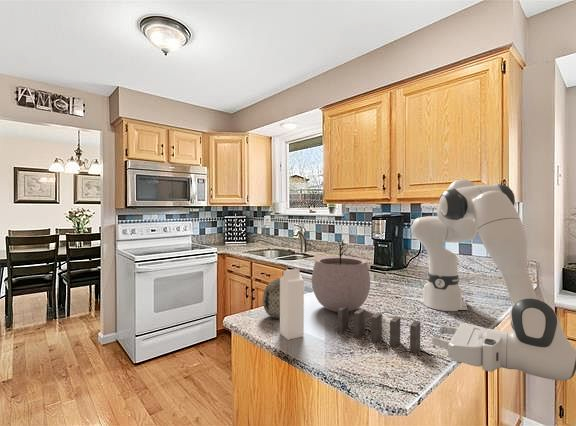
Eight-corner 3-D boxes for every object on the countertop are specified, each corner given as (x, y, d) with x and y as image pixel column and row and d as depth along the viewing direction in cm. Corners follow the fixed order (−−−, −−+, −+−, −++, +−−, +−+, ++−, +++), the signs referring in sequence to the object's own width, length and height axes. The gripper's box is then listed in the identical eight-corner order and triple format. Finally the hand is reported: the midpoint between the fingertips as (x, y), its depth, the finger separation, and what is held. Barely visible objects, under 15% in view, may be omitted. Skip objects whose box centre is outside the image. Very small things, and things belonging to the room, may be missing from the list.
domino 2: (360, 331, 108) (360, 308, 108) (364, 333, 107) (364, 309, 107) (353, 336, 104) (354, 312, 104) (358, 337, 103) (358, 313, 103)
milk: (279, 333, 106) (279, 268, 106) (295, 330, 109) (295, 267, 109) (288, 340, 101) (287, 272, 101) (304, 336, 104) (303, 270, 103)
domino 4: (395, 340, 101) (395, 316, 100) (400, 342, 100) (400, 317, 99) (389, 346, 97) (390, 320, 96) (395, 347, 96) (395, 321, 95)
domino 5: (414, 346, 97) (414, 320, 97) (420, 347, 96) (420, 321, 96) (409, 351, 93) (410, 325, 93) (415, 353, 92) (415, 326, 92)
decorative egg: (256, 318, 121) (256, 279, 121) (277, 310, 130) (277, 274, 129) (278, 325, 113) (278, 284, 113) (299, 317, 122) (299, 278, 122)
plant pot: (332, 324, 115) (332, 242, 114) (301, 305, 136) (301, 236, 136) (382, 314, 125) (383, 239, 124) (346, 298, 147) (347, 234, 146)
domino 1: (344, 327, 111) (344, 305, 111) (348, 328, 110) (348, 306, 110) (337, 332, 107) (337, 309, 107) (341, 333, 106) (342, 310, 106)
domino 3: (377, 336, 104) (377, 312, 104) (381, 337, 103) (381, 313, 103) (371, 341, 100) (371, 316, 100) (376, 342, 99) (376, 317, 99)
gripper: (496, 323, 90) (444, 313, 99) (490, 348, 74) (428, 334, 83) (496, 345, 91) (444, 333, 99) (490, 375, 74) (427, 358, 83)
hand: (436, 334), depth 91 cm, fingers open, 8 cm apart
